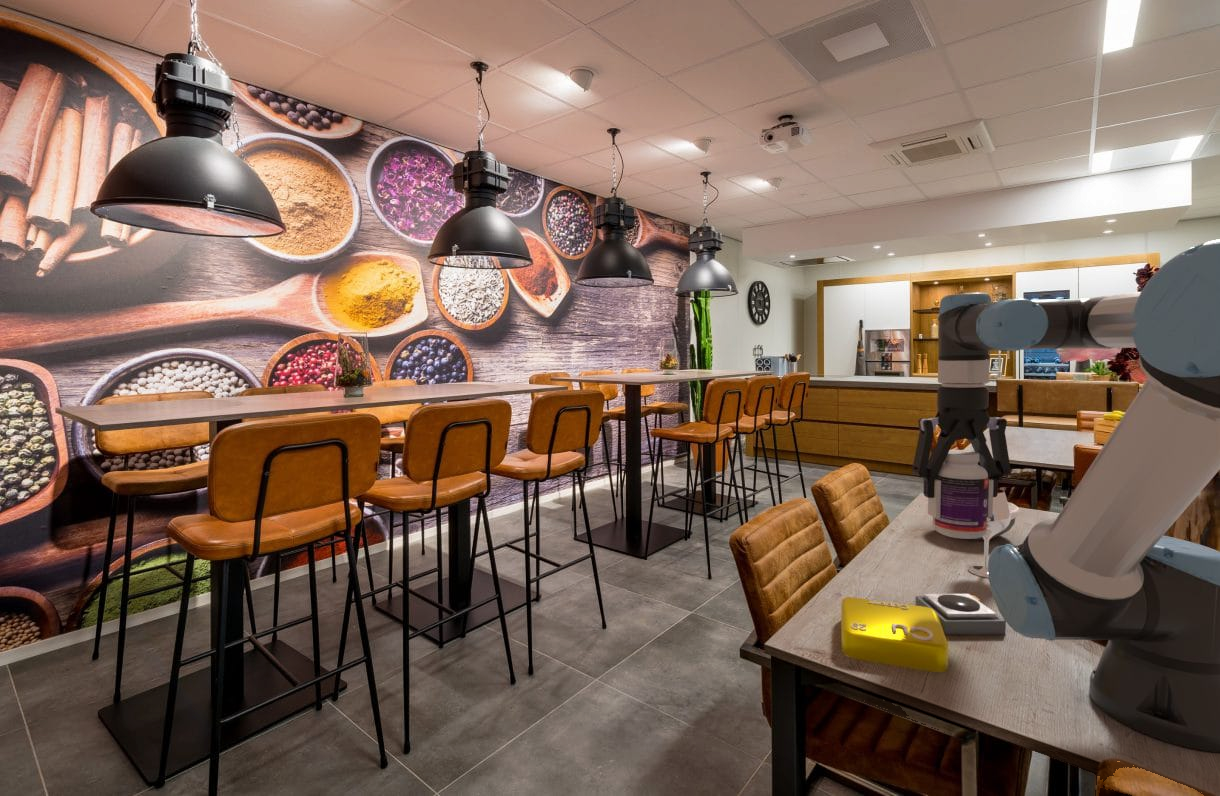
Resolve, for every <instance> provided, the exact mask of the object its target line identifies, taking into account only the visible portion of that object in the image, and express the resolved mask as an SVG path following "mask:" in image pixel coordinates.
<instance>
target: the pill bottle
mask: <svg viewBox="0 0 1220 796" xmlns="http://www.w3.org/2000/svg"><path fill="white" fill-rule="evenodd" d="M936 479H938V480H940V481H941V505H940V518H935V517H933V516H932V526H933V529H934V530H935V531H936V532H937V533H939V534H941V535H943V536H945V537H948V538H949V537H950V538H952V539H953V538H954V539H964V540H973V539H975V538H980V537H983V536H984V535H985V534H986V530H987V488H988V473H987V471H986V470H985V469H984V468H983V467H981V465H980V464H979V453H978V452H975V451H974V450H965V449H950V450H949V452H948V454H947V456H946V459H945V461H944V463H943V465H942V467H941V469H940V471H939V473H938V475H937V477H936Z"/></svg>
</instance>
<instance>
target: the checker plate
mask: <svg viewBox="0 0 1220 796" xmlns="http://www.w3.org/2000/svg"><path fill="white" fill-rule="evenodd" d="M923 596H924V601H925V602H926V603H928V604H929V605H930V606H931V607H932V608H934V609H935V610H936V611H937V612H938V613H939V614H941V615H942V616H943V617H944V618H945V619H946V620H985V619H996V614H997V613H996V612H995V611H994V610H992V609H991V608H989V607H988V606H986V605H985V604H983V603H982V601H981V602H979V601H978V600H977V599H975V598H974V597H972V596H971V594H970V593H923Z"/></svg>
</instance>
